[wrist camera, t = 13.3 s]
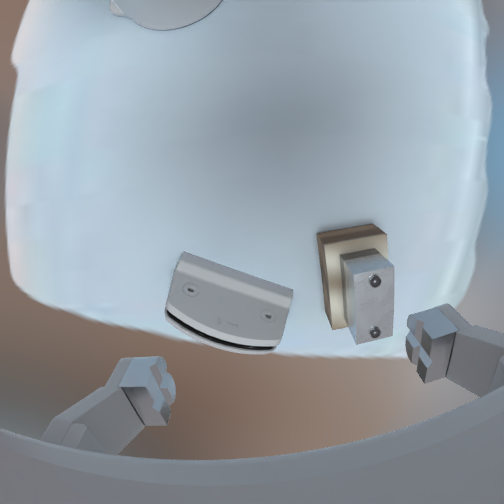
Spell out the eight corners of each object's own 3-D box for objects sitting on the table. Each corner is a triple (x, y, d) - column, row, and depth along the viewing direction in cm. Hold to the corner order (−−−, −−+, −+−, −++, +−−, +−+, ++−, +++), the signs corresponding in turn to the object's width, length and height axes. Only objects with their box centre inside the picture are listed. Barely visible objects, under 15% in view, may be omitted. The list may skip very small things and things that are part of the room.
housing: (339, 254, 36) (354, 276, 30) (374, 248, 36) (395, 267, 29) (344, 318, 39) (357, 346, 33) (376, 311, 38) (393, 337, 32)
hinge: (295, 290, 43) (292, 349, 35) (282, 310, 46) (277, 367, 38) (180, 250, 41) (155, 304, 33) (175, 274, 44) (151, 327, 36)
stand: (316, 233, 40) (324, 245, 35) (372, 223, 40) (386, 234, 35) (325, 311, 44) (332, 330, 39) (376, 300, 43) (387, 317, 39)
